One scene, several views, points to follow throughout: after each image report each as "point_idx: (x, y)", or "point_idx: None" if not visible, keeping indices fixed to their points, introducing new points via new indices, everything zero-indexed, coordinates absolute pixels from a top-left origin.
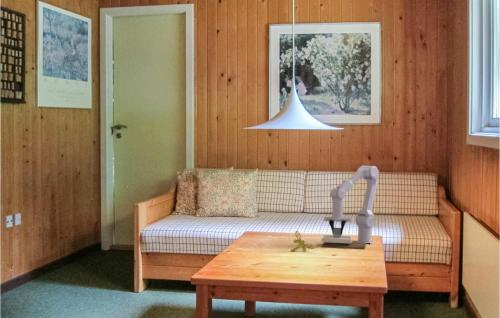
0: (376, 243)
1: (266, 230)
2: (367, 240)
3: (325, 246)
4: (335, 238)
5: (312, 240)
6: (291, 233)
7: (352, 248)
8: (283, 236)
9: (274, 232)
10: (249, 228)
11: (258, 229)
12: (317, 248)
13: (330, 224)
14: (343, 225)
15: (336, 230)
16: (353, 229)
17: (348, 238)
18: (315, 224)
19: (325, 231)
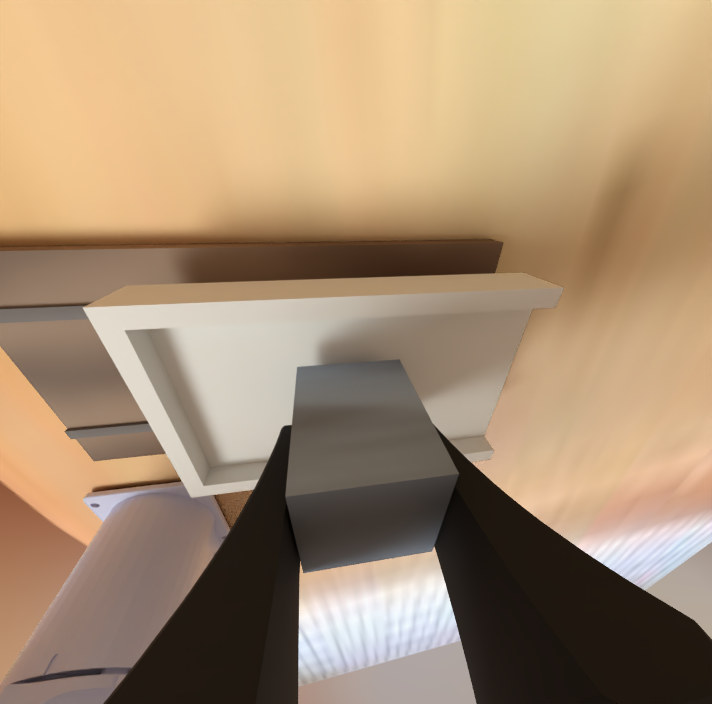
0: (69, 519)
1: (649, 540)
2: (109, 519)
3: (457, 240)
4: (366, 309)
5: (512, 456)
6: (571, 536)
7: (132, 245)
8: (637, 483)
9: (636, 527)
10: (694, 541)
11: (670, 541)
12: (558, 124)
13: (611, 584)
14: (170, 651)
15: (380, 449)
16: (320, 643)
17: (231, 452)
18: (449, 635)
19: (422, 598)
